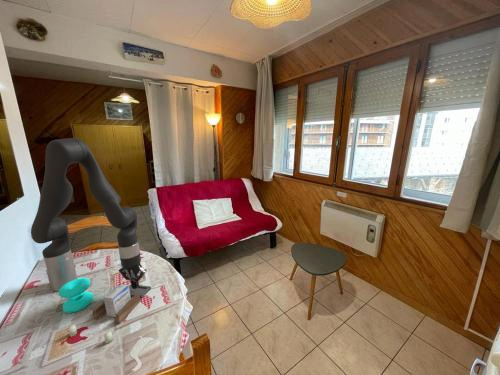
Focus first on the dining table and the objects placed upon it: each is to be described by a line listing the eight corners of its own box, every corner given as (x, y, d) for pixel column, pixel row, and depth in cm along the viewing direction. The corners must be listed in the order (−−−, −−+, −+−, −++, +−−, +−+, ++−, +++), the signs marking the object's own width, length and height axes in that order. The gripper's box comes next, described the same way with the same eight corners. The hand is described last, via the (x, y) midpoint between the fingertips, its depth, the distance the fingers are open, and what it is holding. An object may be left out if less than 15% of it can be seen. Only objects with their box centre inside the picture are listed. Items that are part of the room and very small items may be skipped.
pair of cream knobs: (68, 336, 70) (66, 329, 70) (74, 331, 72) (72, 324, 72) (109, 344, 67) (107, 337, 66) (114, 338, 69) (112, 331, 68)
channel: (94, 319, 77) (92, 310, 76) (117, 297, 87) (116, 290, 87) (120, 323, 75) (118, 314, 74) (140, 301, 85) (139, 293, 84)
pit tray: (122, 295, 89) (121, 293, 88) (132, 286, 95) (131, 284, 94) (141, 298, 87) (141, 296, 87) (150, 288, 93) (150, 286, 92)
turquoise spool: (52, 296, 76) (64, 279, 85) (58, 317, 78) (70, 299, 87) (84, 288, 79) (93, 274, 88) (89, 310, 81) (97, 293, 90)
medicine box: (116, 317, 77) (112, 299, 76) (106, 316, 78) (102, 297, 76) (132, 302, 85) (128, 284, 83) (123, 300, 86) (119, 283, 84)
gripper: (109, 256, 84) (116, 291, 88) (137, 259, 81) (142, 295, 85) (123, 247, 91) (129, 280, 95) (149, 249, 89) (154, 283, 92)
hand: (135, 287), depth 90 cm, fingers closed
